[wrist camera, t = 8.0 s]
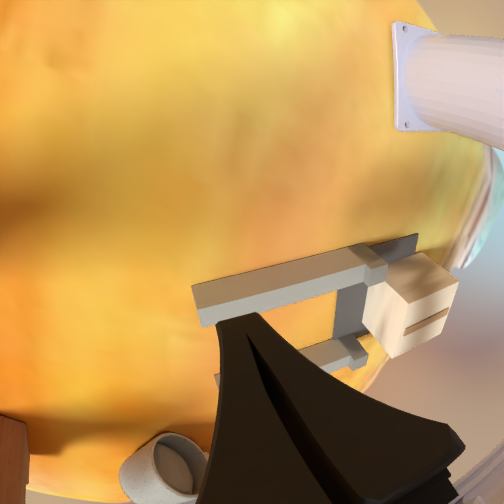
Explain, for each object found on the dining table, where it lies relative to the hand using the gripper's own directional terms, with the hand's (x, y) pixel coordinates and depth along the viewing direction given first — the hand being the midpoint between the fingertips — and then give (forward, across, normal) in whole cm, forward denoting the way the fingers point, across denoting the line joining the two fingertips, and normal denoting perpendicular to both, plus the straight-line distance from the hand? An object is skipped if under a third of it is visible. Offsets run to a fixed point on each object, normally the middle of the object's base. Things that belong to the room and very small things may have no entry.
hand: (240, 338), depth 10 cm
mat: (+10, -14, +10) cm, 20 cm away
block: (+10, -16, +10) cm, 21 cm away
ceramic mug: (+10, +8, +26) cm, 29 cm away
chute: (+10, -6, +10) cm, 15 cm away
